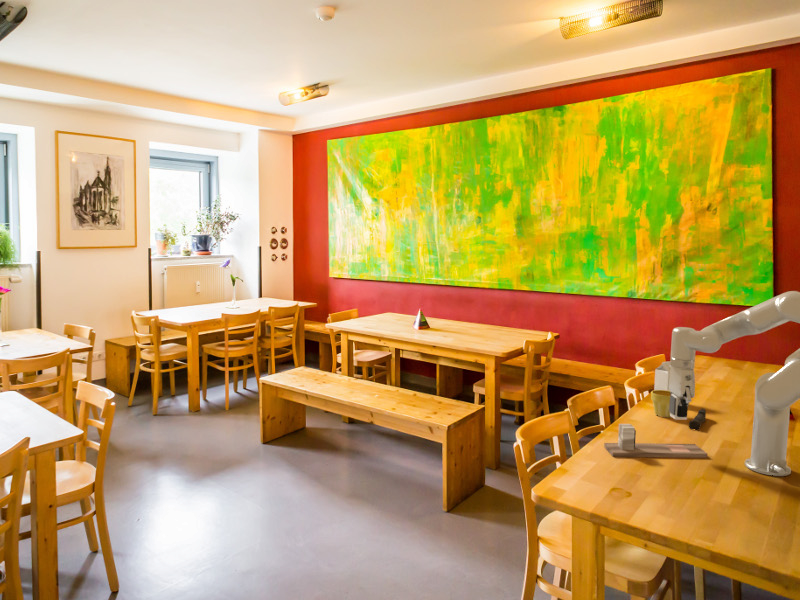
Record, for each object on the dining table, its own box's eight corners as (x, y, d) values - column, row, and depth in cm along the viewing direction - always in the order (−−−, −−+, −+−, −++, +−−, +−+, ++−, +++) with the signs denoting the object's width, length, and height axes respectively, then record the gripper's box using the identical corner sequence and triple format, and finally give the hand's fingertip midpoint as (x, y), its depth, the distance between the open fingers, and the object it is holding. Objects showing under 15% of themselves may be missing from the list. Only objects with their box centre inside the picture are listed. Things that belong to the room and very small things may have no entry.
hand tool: (699, 431, 218) (700, 420, 217) (688, 429, 220) (689, 418, 220) (711, 420, 232) (711, 409, 231) (700, 418, 234) (701, 407, 234)
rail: (707, 457, 191) (708, 431, 190) (612, 456, 192) (613, 430, 191) (694, 448, 200) (695, 422, 199) (604, 446, 201) (605, 421, 200)
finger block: (686, 419, 193) (688, 397, 192) (673, 419, 193) (675, 396, 192) (681, 415, 197) (683, 393, 196) (668, 415, 197) (670, 393, 196)
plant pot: (656, 409, 244) (657, 388, 243) (681, 415, 237) (682, 393, 236) (645, 414, 238) (646, 392, 236) (670, 420, 230) (672, 397, 229)
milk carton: (653, 401, 257) (655, 360, 255) (664, 399, 260) (666, 359, 258) (666, 405, 251) (668, 363, 249) (677, 403, 254) (679, 362, 252)
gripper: (705, 369, 184) (701, 422, 186) (682, 358, 201) (678, 407, 203) (682, 368, 184) (678, 422, 186) (660, 357, 201) (657, 407, 203)
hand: (678, 414), depth 195 cm, fingers closed on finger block, 4 cm apart
